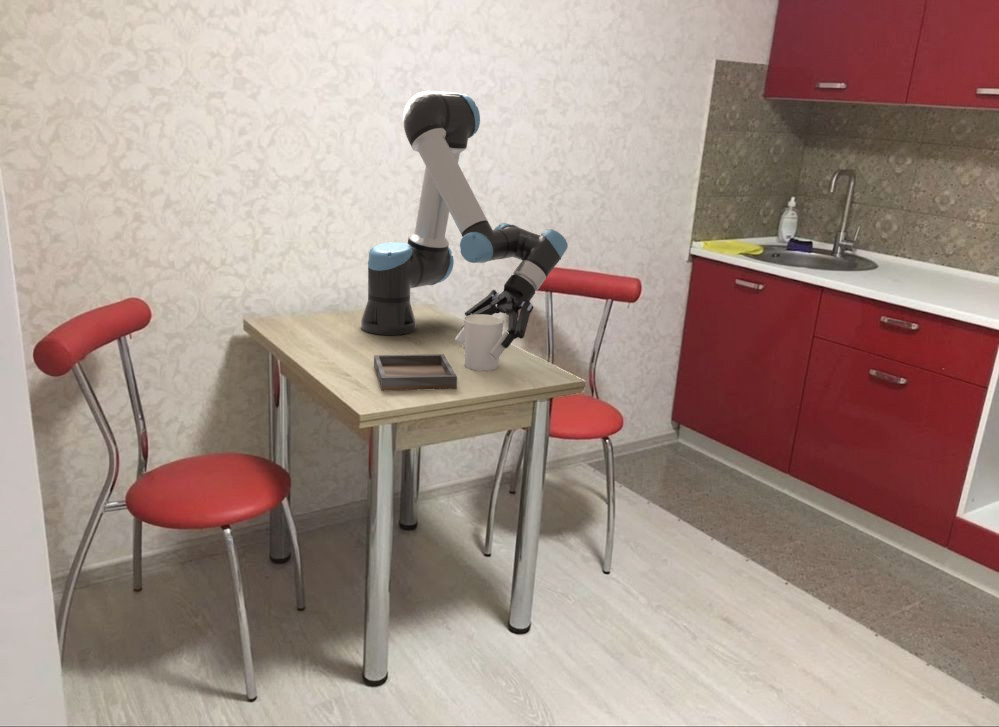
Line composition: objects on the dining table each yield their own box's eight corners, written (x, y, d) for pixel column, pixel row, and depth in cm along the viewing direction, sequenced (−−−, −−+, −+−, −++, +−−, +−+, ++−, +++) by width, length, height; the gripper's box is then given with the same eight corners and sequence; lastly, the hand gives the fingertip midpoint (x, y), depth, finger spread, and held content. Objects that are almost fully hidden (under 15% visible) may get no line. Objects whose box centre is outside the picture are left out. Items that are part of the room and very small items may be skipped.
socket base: (373, 366, 206) (374, 355, 206) (443, 365, 211) (443, 354, 210) (381, 390, 191) (381, 378, 190) (456, 388, 195) (457, 376, 194)
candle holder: (466, 372, 207) (469, 324, 203) (457, 360, 216) (460, 314, 212) (505, 371, 209) (508, 324, 206) (495, 359, 218) (498, 313, 215)
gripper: (566, 302, 209) (516, 371, 203) (498, 282, 226) (451, 345, 221) (552, 283, 204) (501, 353, 198) (484, 264, 221) (436, 328, 216)
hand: (475, 349), depth 210 cm, fingers open, 13 cm apart
